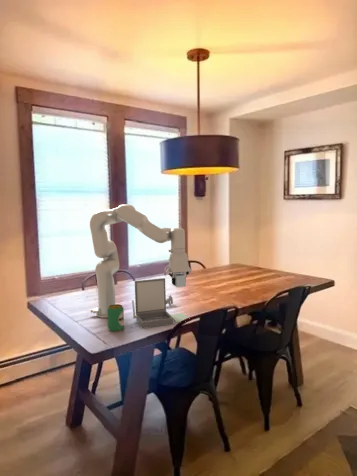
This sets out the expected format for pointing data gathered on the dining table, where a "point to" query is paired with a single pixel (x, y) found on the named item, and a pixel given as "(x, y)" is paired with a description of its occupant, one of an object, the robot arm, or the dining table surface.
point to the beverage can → (115, 317)
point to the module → (180, 280)
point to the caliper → (169, 300)
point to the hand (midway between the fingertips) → (179, 284)
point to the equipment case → (151, 303)
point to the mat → (179, 317)
